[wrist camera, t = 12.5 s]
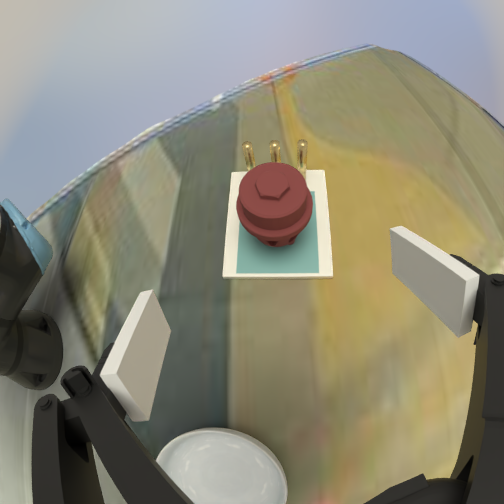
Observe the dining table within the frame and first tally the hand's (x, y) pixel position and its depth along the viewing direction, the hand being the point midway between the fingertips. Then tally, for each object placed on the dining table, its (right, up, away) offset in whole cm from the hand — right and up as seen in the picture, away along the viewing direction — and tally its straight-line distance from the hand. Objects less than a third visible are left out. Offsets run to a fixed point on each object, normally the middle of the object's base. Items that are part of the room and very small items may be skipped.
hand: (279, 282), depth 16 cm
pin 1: (-1, +14, +35) cm, 38 cm away
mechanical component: (+3, +5, +31) cm, 32 cm away
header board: (+3, +6, +33) cm, 33 cm away
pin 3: (+7, +14, +34) cm, 37 cm away
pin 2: (+3, +14, +35) cm, 37 cm away
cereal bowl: (-5, -30, +19) cm, 35 cm away
